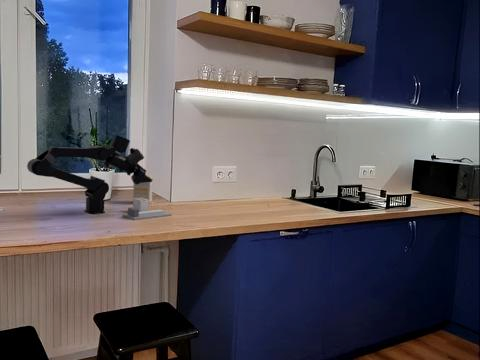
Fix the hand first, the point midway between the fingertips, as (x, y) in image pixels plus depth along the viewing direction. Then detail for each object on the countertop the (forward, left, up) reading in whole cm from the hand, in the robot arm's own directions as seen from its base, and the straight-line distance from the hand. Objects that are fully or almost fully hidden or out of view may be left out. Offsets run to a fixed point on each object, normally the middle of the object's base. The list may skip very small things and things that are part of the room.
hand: (148, 176), depth 199 cm
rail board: (-9, -13, -15) cm, 21 cm away
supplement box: (+5, +12, -15) cm, 20 cm away
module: (-7, -5, -15) cm, 17 cm away
